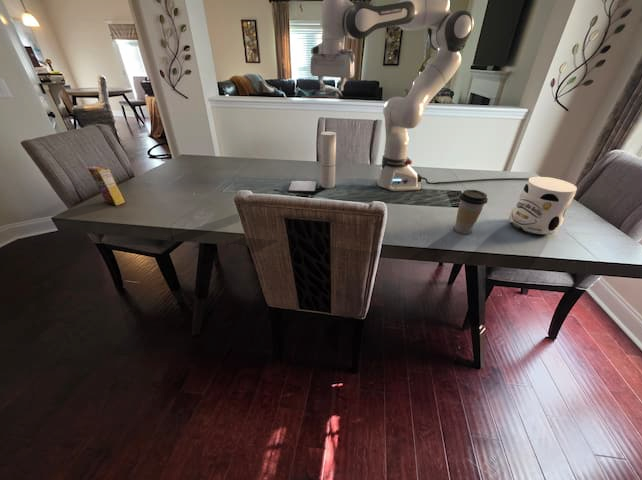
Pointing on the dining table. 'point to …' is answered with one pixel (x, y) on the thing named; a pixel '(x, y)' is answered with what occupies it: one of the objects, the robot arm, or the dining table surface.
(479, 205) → the coffee cup
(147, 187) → the dining table surface
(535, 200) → the milk container
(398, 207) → the dining table surface
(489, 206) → the dining table surface
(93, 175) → the candy box
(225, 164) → the dining table surface
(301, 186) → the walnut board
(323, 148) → the cylindrical container
